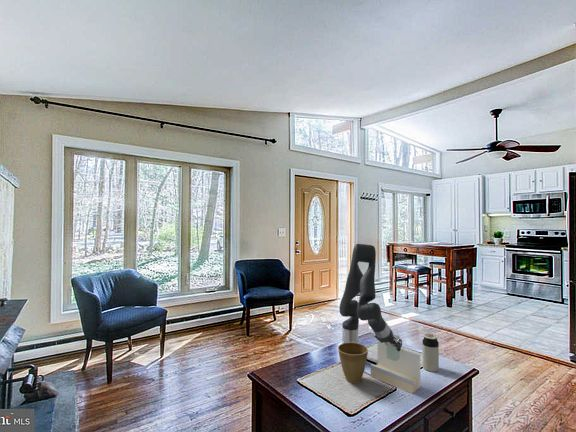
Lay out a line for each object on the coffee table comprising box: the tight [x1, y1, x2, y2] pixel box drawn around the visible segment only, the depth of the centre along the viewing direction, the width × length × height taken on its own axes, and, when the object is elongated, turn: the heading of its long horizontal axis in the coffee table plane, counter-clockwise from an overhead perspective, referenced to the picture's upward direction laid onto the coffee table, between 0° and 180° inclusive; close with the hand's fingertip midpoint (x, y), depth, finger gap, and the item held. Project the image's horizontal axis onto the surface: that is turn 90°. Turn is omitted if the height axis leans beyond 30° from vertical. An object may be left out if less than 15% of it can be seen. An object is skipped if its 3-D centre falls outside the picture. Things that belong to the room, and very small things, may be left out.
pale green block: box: [387, 334, 401, 361], centre depth 155 cm, size 4×4×11 cm
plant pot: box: [337, 342, 369, 384], centre depth 159 cm, size 15×15×16 cm
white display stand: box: [370, 340, 421, 394], centre depth 157 cm, size 9×22×16 cm, turn 44°
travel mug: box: [422, 332, 440, 373], centre depth 169 cm, size 8×8×18 cm
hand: (394, 347), depth 156 cm, fingers closed on pale green block, 4 cm apart
